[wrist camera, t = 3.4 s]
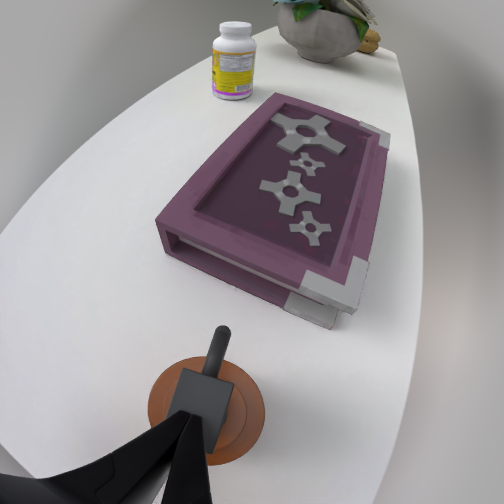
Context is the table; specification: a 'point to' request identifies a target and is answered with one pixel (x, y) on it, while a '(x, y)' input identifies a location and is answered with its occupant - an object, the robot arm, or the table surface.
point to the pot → (370, 42)
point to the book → (285, 208)
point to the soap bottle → (237, 415)
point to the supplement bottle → (233, 61)
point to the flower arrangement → (324, 27)
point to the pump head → (206, 390)
